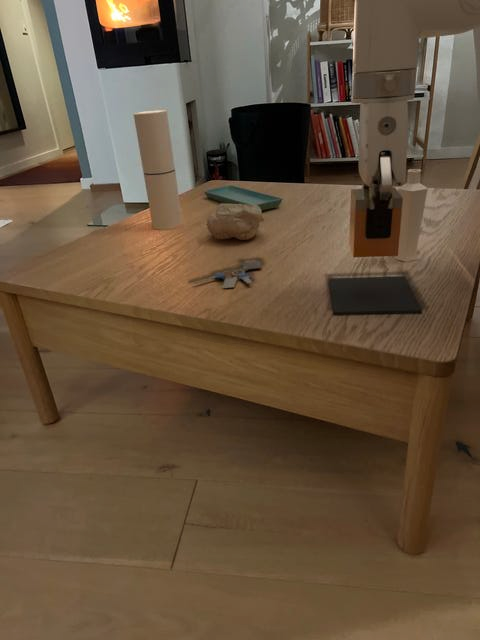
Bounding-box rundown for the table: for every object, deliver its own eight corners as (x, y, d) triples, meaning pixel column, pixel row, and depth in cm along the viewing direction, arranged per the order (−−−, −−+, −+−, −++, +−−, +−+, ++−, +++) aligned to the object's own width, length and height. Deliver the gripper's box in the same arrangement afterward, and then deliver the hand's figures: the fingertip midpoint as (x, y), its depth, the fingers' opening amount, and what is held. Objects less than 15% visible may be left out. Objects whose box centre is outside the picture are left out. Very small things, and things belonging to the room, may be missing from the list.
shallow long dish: (203, 198, 135) (202, 189, 134) (230, 191, 139) (230, 183, 138) (253, 215, 115) (253, 205, 114) (284, 208, 119) (283, 198, 118)
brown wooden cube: (394, 187, 66) (351, 189, 67) (403, 197, 61) (355, 199, 62) (390, 241, 70) (349, 243, 71) (398, 256, 65) (353, 257, 66)
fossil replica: (208, 234, 105) (210, 252, 97) (201, 198, 101) (202, 214, 92) (262, 224, 105) (268, 242, 97) (257, 188, 101) (263, 203, 92)
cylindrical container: (148, 230, 111) (128, 114, 100) (158, 221, 117) (140, 111, 106) (177, 229, 110) (160, 112, 98) (186, 220, 116) (171, 109, 104)
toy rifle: (252, 261, 88) (251, 257, 87) (285, 271, 82) (284, 266, 82) (192, 286, 80) (192, 281, 79) (224, 298, 74) (224, 294, 74)
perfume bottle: (415, 264, 81) (424, 174, 74) (390, 260, 83) (396, 172, 76) (424, 255, 84) (434, 168, 77) (400, 251, 86) (407, 166, 79)
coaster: (404, 278, 76) (405, 275, 76) (422, 313, 65) (422, 310, 65) (328, 281, 77) (328, 278, 77) (333, 315, 67) (333, 311, 67)
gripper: (432, 88, 50) (415, 250, 59) (401, 83, 65) (391, 212, 74) (359, 93, 51) (353, 252, 60) (345, 87, 66) (342, 214, 75)
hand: (374, 228), depth 67 cm, fingers closed on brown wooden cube, 6 cm apart
